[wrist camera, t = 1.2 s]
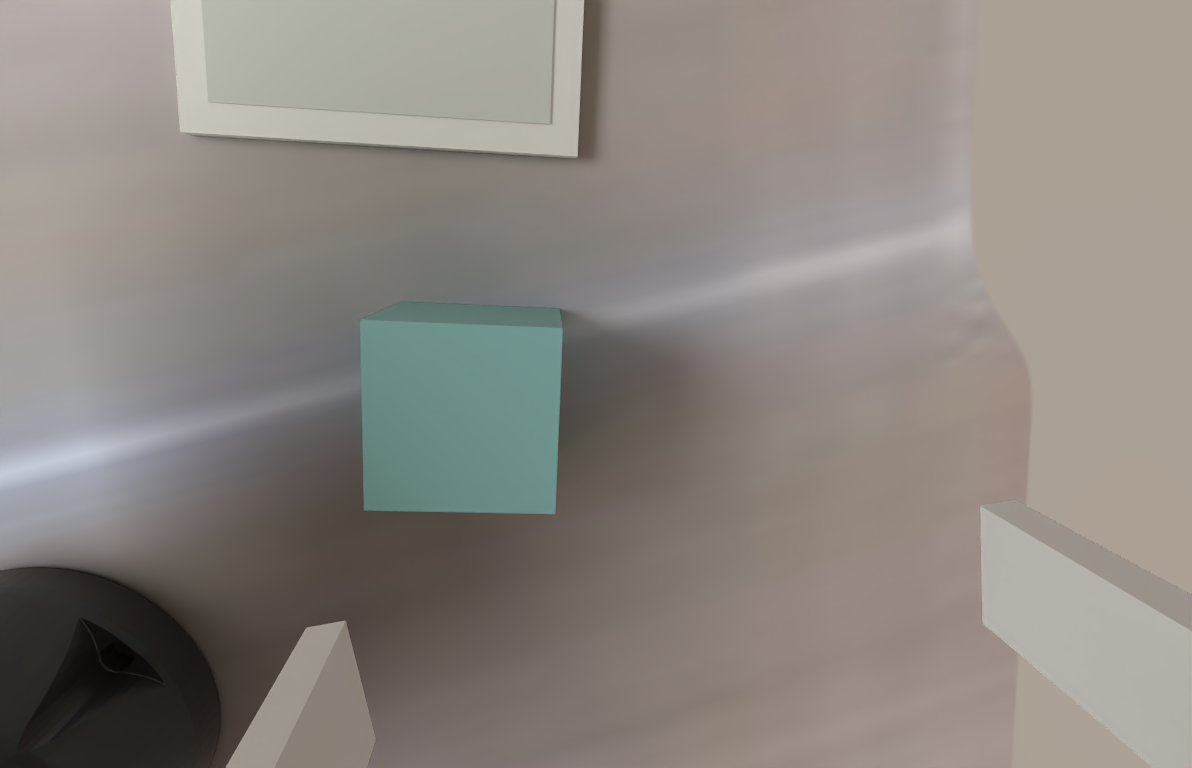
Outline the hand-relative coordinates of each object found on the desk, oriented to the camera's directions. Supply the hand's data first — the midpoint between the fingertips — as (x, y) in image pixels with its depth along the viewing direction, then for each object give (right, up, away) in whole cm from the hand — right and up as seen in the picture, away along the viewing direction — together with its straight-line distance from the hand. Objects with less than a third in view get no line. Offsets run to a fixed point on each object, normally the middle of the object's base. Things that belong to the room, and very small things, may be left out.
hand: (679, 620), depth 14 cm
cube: (-7, +5, +17) cm, 19 cm away
